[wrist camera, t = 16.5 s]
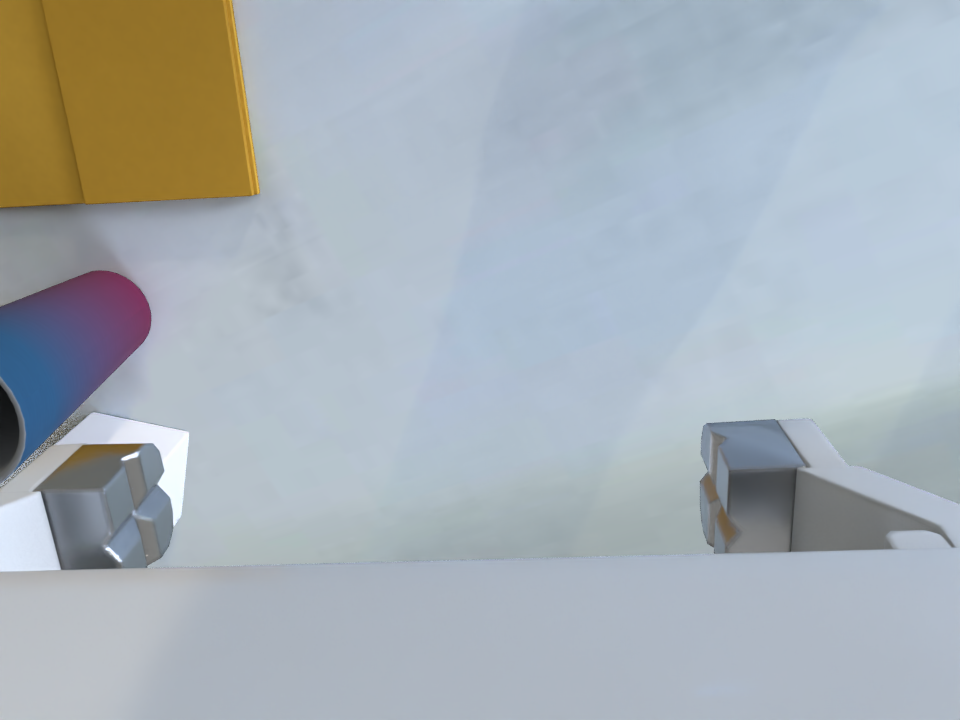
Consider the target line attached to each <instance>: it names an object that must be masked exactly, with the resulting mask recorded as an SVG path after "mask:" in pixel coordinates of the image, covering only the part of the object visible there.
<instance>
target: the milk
mask: <svg viewBox="0 0 960 720" xmlns="http://www.w3.org/2000/svg"><path fill="white" fill-rule="evenodd" d="M188 441H189V432H187V431H182V430H177V429H172V428H168V427H163V426H158V425H153V424H148V423H144V422H139V421H134V420H129V419H124V418H120V417H115V416H110V415H105V414H100V413H96V412H92V413H91V414H89V415H88V416H87V417H86V418H85V419H84V420H82V421H81V422H80V423H79V424H78V425H77V426H76V427H74V428H73V429H72V430H71V431H70V432H69V433H67V434H66V435H65V436H64V437H63V438H62V439H61V440H59V441H58V442H57V443H56V444H55V445H65V444H81V443H87V444H132V443H153V444H154V445H155V446H156V447H157V449H158V450H159V451H160V454H161V458H162V463H163V467H164V473H163V475H162V477H161V479H160V480H159V482H158V484H157V485H158V486H159V487H160V488H161V489H162V490H163V491H164V492H165V493H166V494H167V495H168V496H169V497H170V499H171V505H172V510H173V526H174V525H175V524H176V522H177V521H178V520H179V518H180V517H181V514H182V504H183V493H184V483H185V473H186V462H187V452H188Z"/></svg>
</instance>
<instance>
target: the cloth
mask: <svg viewBox="0 0 960 720" xmlns="http://www.w3.org/2000/svg"><path fill="white" fill-rule="evenodd" d="M259 193H260V190H259V183H258V176H257V169H256V162H255V155H254V148H253V142H252V135H251V128H250V121H249V114H248V107H247V100H246V94H245V87H244V80H243V73H242V66H241V59H240V53H239V46H238V39H237V32H236V25H235V18H234V11H233V5H232V0H0V208H6V207H26V206H45V205H64V204H83V203H85V204H104V203H123V202H142V201H161V200H181V199H200V198H219V197H238V196H252V195H254V194H259Z"/></svg>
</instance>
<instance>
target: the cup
mask: <svg viewBox="0 0 960 720" xmlns="http://www.w3.org/2000/svg"><path fill="white" fill-rule="evenodd" d="M150 326H151V312H150V308H149V304H148V302H147V300H146V298H145V296H144V295H143V293H142V292H141V290H140V289H139V288H138V287H137V286H136V285H135V284H134V283H133V282H131V281H130V280H128V279H127V278H126V277H124V276H121V275H119V274H117V273H113V272H110V271H92V272H89V273H86V274H83V275H81V276H78V277H75V278H73V279H70V280H68V281H65V282H63V283H60V284H58V285H55V286H52V287H50V288H47V289H45V290H42V291H40V292H37V293H34V294H32V295H29V296H27V297H24V298H22V299H19V300H17V301H14V302H11V303H9V304H6V305H4V306H1V307H0V483H1V482H3V481H5V480H6V479H7V478H8V477H9V476H10V475H11V474H12V473H13V472H14V471H15V470H16V469H17V468H18V467H19V466H20V465H21V464H22V463H23V462H24V461H25V460H26V459H27V458H28V457H29V456H30V455H31V454H32V453H33V452H34V451H35V450H36V449H37V448H38V447H39V446H40V445H41V444H42V443H43V442H44V441H45V440H46V439H47V438H48V437H49V436H50V435H51V434H52V433H53V432H54V431H55V430H56V429H57V428H58V427H59V426H60V425H61V424H62V423H63V422H64V421H65V420H66V419H67V418H68V417H69V416H70V415H71V414H72V413H73V412H74V411H75V410H76V409H77V408H78V407H79V406H80V405H81V404H82V403H83V402H84V401H85V400H86V399H87V398H88V397H89V396H90V395H91V394H92V393H93V392H94V391H95V390H96V389H97V388H98V387H99V386H100V385H101V384H102V383H103V382H104V381H105V380H106V379H107V378H108V377H109V376H110V375H111V374H112V373H113V372H114V371H115V370H116V369H117V368H118V367H119V366H120V365H121V364H122V363H123V362H124V361H125V360H126V359H127V358H128V357H129V356H130V355H131V354H132V353H133V352H134V351H135V350H136V349H137V348H138V347H139V346H140V345H141V344H142V343H143V342H144V340H145V339H146V337H147V336H148V333H149V330H150Z"/></svg>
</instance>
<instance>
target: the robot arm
mask: <svg viewBox="0 0 960 720" xmlns="http://www.w3.org/2000/svg"><path fill="white" fill-rule="evenodd" d="M701 455H702V458H703V460H704V463H705V465H706V468H707V470H708V472H707V473H706V474H705V476H704V477H703V478H702V479H701V481H700V511H701V522H702V527H703V532H704V535H705V538H706V541H707V544H709V545H710V546H712V547H714V554H684V555H643V556H603V557H562V558H522V559H483V560H443V561H403V562H363V563H323V564H283V565H243V566H203V567H163V568H147V565H149V564H151V563H153V562H155V561H156V560H158V559H160V558H162V556H163V554H164V553H165V551H166V550H167V548H168V547H169V544H170V540H171V536H172V532H173V510H172V505H171V499H170V497H169V496H168V495H167V494H166V493H165V492H164V491H163V490H162V489H161V488H160V487H159V486H158V485H157V484H158V482H159V480H160V479H161V477H162V475H163V473H164V467H163V463H162V458H161V454H160V451H159V450H158V449H157V447H156V446H155V445H154V444H153V443H132V444H87V443H81V444H65V445H51V446H50V447H49V448H48V449H46V450H45V451H44V452H43V453H42V454H41V455H39V456H38V457H37V458H36V459H35V460H33V461H32V462H31V463H30V464H29V465H28V466H26V467H25V468H24V469H23V470H22V471H20V472H19V473H18V474H17V475H16V476H15V477H13V478H12V479H11V480H10V481H9V482H8V483H6V484H5V485H4V486H3V487H2V488H0V720H960V504H958V503H955V502H952V501H950V500H947V499H945V498H942V497H939V496H937V495H934V494H932V493H929V492H926V491H924V490H921V489H918V488H916V487H913V486H911V485H908V484H905V483H903V482H900V481H898V480H895V479H892V478H890V477H887V476H885V475H882V474H879V473H877V472H874V471H872V470H869V469H866V468H864V467H861V466H848V465H847V464H846V462H845V461H844V460H843V458H842V457H841V456H840V454H839V453H838V452H837V451H836V449H835V448H834V447H833V445H832V444H831V443H830V442H829V440H828V439H827V438H826V436H825V435H824V434H823V432H822V431H821V430H820V429H819V427H818V426H817V425H816V423H815V422H814V421H813V420H812V419H809V418H802V419H788V420H775V419H772V420H754V421H736V422H719V423H706V424H705V425H704V426H703V430H702V437H701Z"/></svg>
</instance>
